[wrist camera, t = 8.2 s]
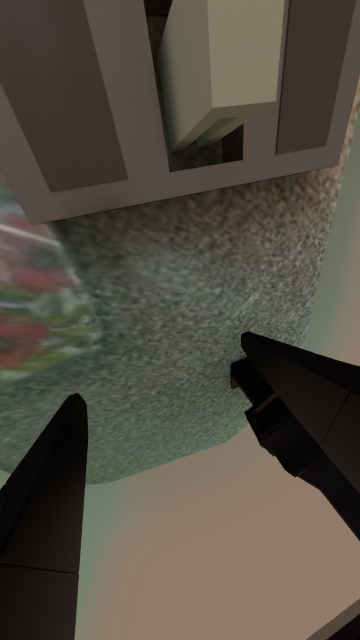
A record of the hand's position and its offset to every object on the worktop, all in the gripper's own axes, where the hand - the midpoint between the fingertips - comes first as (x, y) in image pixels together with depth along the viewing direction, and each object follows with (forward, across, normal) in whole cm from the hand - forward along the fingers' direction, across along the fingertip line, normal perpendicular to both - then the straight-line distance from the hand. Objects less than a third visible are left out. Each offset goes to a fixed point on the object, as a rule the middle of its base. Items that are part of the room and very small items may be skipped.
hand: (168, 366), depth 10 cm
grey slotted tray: (+12, -7, -13) cm, 19 cm away
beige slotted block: (+12, -7, -13) cm, 19 cm away
